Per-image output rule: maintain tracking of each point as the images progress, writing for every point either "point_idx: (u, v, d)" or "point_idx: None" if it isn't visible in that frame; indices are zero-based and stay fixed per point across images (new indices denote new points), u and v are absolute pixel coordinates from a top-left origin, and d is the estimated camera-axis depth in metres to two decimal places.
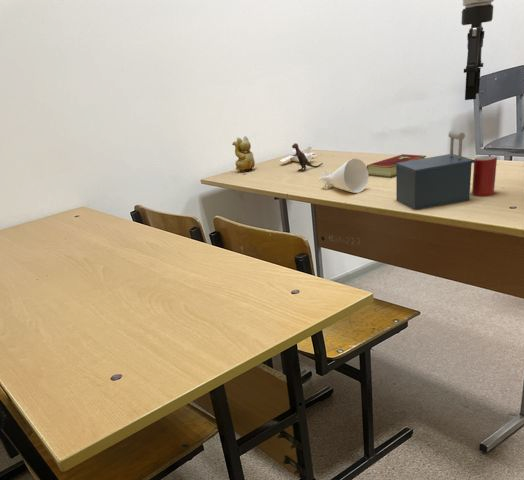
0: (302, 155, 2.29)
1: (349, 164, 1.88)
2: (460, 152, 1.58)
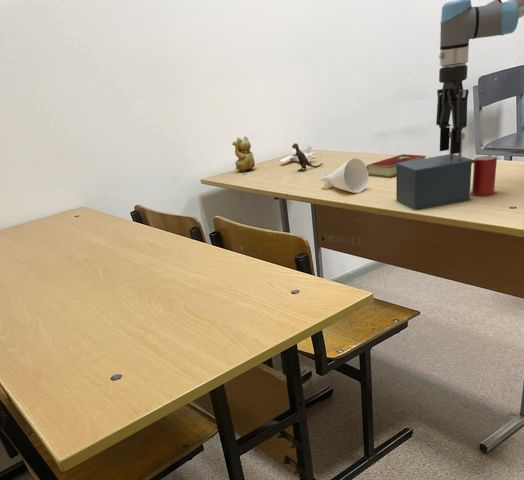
0: (302, 155, 2.29)
1: (349, 164, 1.88)
2: (460, 152, 1.58)
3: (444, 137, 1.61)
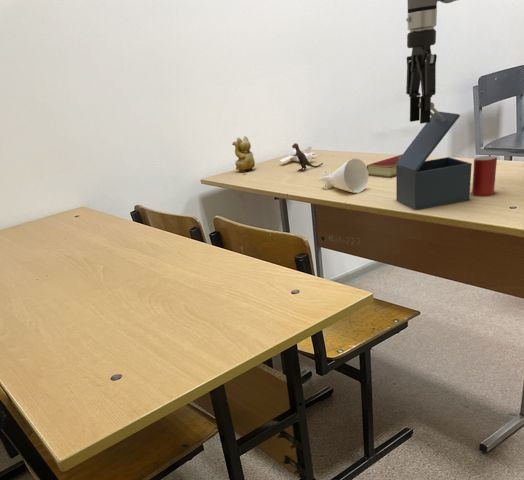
0: (302, 155, 2.29)
1: (349, 164, 1.88)
2: (441, 116, 1.52)
3: (414, 106, 1.55)
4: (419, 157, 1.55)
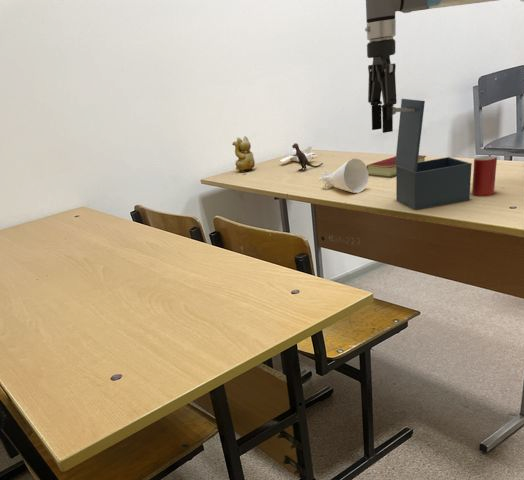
0: (302, 155, 2.29)
1: (349, 164, 1.88)
2: (408, 110, 1.49)
3: (376, 115, 1.55)
4: (411, 155, 1.54)
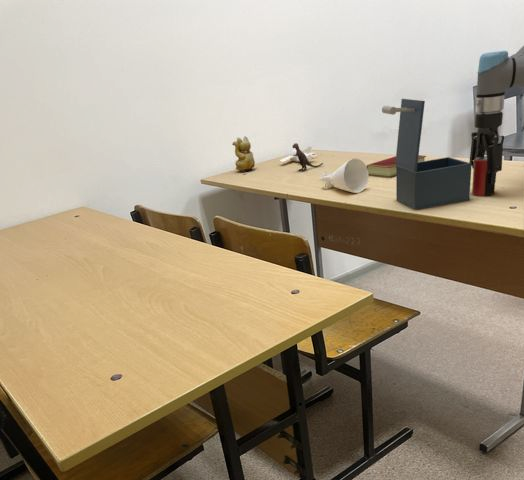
0: (302, 155, 2.29)
1: (349, 164, 1.88)
2: (408, 110, 1.49)
3: None
4: (411, 155, 1.54)
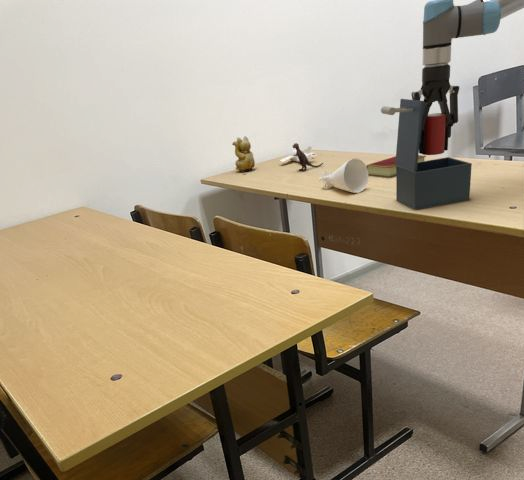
0: (303, 155, 2.29)
1: (349, 164, 1.88)
2: (407, 110, 1.49)
3: None
4: (411, 155, 1.54)
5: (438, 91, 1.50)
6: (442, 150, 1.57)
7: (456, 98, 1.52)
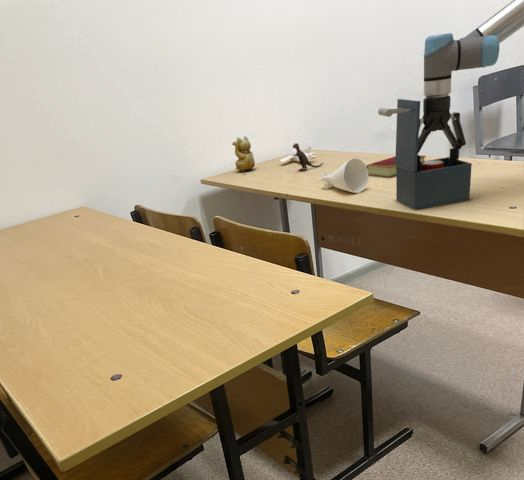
0: (303, 155, 2.29)
1: (349, 164, 1.88)
2: (404, 111, 1.49)
3: (451, 158, 1.62)
4: (410, 155, 1.54)
5: (439, 121, 1.55)
6: None
7: (459, 123, 1.56)
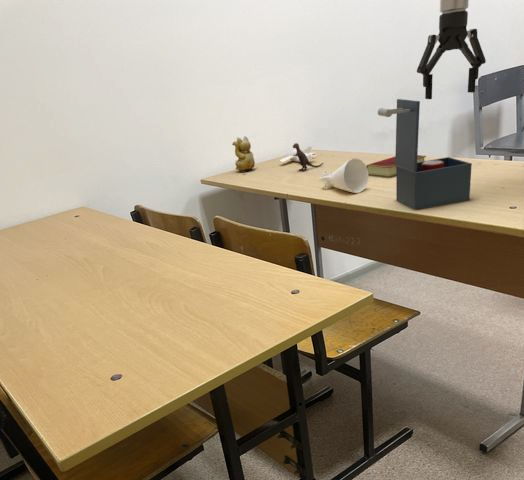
0: (303, 155, 2.29)
1: (349, 164, 1.88)
2: (404, 111, 1.49)
3: (470, 78, 1.57)
4: (410, 156, 1.54)
5: (455, 39, 1.50)
6: None
7: (477, 40, 1.51)
